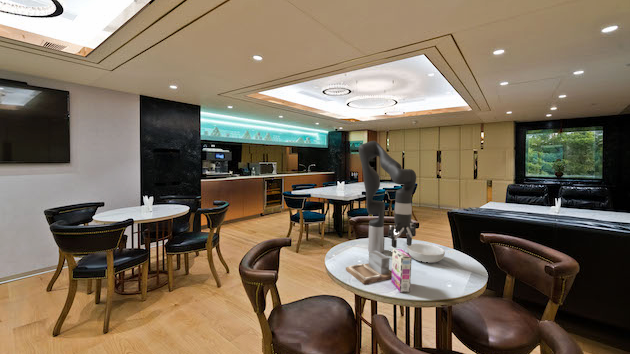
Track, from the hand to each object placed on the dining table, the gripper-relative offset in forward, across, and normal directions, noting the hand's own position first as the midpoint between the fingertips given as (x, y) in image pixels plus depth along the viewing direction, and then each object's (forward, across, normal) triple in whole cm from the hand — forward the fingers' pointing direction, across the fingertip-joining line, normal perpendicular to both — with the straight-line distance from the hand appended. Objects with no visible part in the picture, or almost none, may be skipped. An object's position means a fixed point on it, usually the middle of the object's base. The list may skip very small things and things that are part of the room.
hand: (401, 246), depth 122 cm
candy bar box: (+20, 0, 0) cm, 20 cm away
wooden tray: (+20, +5, -17) cm, 26 cm away
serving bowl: (+20, -37, -21) cm, 47 cm away
